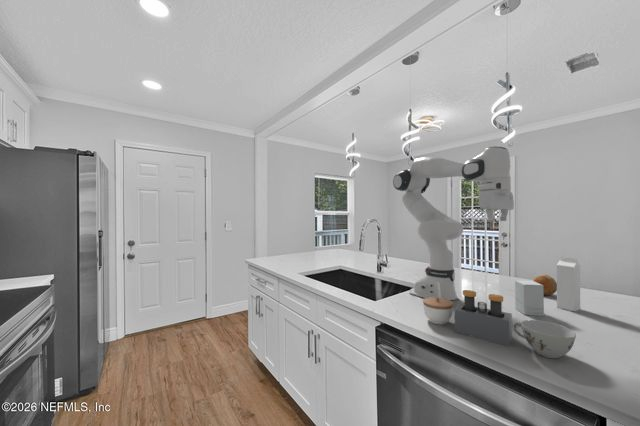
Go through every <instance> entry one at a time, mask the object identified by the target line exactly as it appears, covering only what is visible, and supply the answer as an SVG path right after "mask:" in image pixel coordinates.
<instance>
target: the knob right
mask: <svg viewBox="0 0 640 426" xmlns="http://www.w3.org/2000/svg"><path fill="white" fill-rule="evenodd" d="M488 300H490V301H489V302H490V305H489V306H490V315H491V316H496V317H500V318H502V312H503V311H502V310H503V307H502V306H503V305H502V302H504V296H503V295H501V294H495V293H494V294H493V293H492V294H491V293H490V294H488Z"/></svg>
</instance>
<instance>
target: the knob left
mask: <svg viewBox="0 0 640 426" xmlns="http://www.w3.org/2000/svg"><path fill="white" fill-rule="evenodd" d="M462 295H463V296H464V297H463V298H464V300H463V301H464V302H463V304H464V308H465V310H466V311H471V312H475V307H476V306H475V304H476V303H475V302H476V300H475V299H476V298H475V297H477V291H474V290H471V289H470V290H469V289H465V290H462Z"/></svg>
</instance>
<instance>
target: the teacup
mask: <svg viewBox="0 0 640 426" xmlns="http://www.w3.org/2000/svg"><path fill="white" fill-rule="evenodd" d="M517 327H521V331H522V333H520V332H519V330H518V329H517ZM513 328H514V329H513V330H514V332H515V333H516V334H517V336H519V337H521V338H523V339H525V340H526V342H527V344H528V345H529V346H530V347H531V348H532V349H533V350H534V351H535V353H537V354H538V355H540V356H543V357H545V358H549V359H559V358H561V357H562V356H564V355H567V353H569V352H570V351H571V350H572V349H573V347H574V343H575V340H576V337H577V334H576V332H574V331H573V330H572V329H570V328H568V327H566V326H564V325H562V324H558V323H555V322H550V321H546V320H540V319H539V320H538V319H530V320H522V321H521V322H518V321H516V322H514V324H513Z"/></svg>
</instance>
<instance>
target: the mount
mask: <svg viewBox="0 0 640 426" xmlns="http://www.w3.org/2000/svg"><path fill="white" fill-rule="evenodd" d="M512 315H513V313H510V312H505V311H502V318H500V317H496V316H491V315H490V309H489V308H487V313H481V312H478V306H475V312H471V311H466V310H465V308H464V303H459V304H458V305H457V306H456V308H454V333H457V334H462V335H465V336H469V337H472V338H477V339H481V340H485V341H488V342H493V343H496V344H499V345H503V346H508V347H510V344H511V341H512V339H513V333H512V332H513V331H512V330H513V329H512V327H513V326H512V325H513V323H512V322H513V320H512V318H513V316H512Z"/></svg>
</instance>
